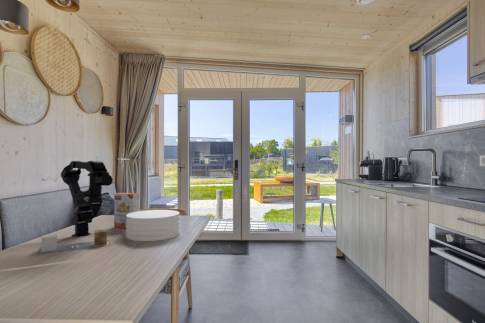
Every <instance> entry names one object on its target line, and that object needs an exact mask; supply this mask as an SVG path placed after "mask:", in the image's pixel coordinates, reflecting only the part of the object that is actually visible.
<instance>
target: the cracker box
mask: <svg viewBox="0 0 485 323" xmlns="http://www.w3.org/2000/svg"><path fill="white" fill-rule="evenodd" d="M113 208H114V209H113V213H114V214H113V216H114V217H113V227H114V228H120V229H127V228H126V224H127V223H126V219H127V218H126V215H127V214H129V213H132V212H137V211H140V193H135V192H134V193H132V192H131V193H130V192H115V193H114V203H113Z"/></svg>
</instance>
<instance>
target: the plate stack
mask: <svg viewBox="0 0 485 323" xmlns="http://www.w3.org/2000/svg"><path fill="white" fill-rule="evenodd" d="M180 215H181V214H180V212H179V211H178V210H173V209H149V210H148V209H147V210H139V211H137V212H132V213H129V214H127V215H126V218H127V219H126V223H127V224H126V228H125V238H126V239H127V240H130V241H136V242H152V241H153V242H154V241H162V240H168V239H172V238H175V237H178V236H179V235H178V234H180Z"/></svg>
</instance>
